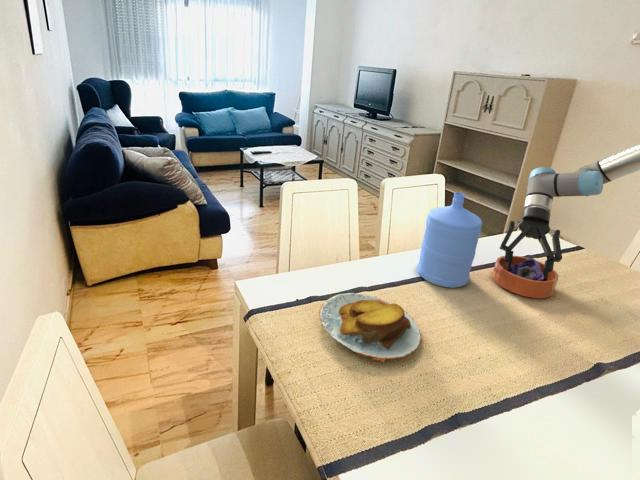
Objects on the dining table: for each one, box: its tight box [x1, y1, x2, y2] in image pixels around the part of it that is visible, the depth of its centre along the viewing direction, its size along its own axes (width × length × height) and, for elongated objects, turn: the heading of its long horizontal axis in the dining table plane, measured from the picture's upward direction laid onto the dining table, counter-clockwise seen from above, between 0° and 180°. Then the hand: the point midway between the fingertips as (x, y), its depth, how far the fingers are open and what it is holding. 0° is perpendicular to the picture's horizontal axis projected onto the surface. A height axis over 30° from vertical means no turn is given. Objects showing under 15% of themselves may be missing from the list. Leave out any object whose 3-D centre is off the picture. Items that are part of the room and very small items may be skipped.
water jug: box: [416, 192, 483, 289], centre depth 120 cm, size 16×16×28 cm
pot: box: [491, 255, 559, 299], centre depth 121 cm, size 17×17×6 cm
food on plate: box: [318, 292, 422, 362], centre depth 97 cm, size 25×25×7 cm
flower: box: [509, 257, 544, 281], centre depth 120 cm, size 9×9×10 cm
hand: (525, 275), depth 117 cm, fingers closed on flower, 9 cm apart
